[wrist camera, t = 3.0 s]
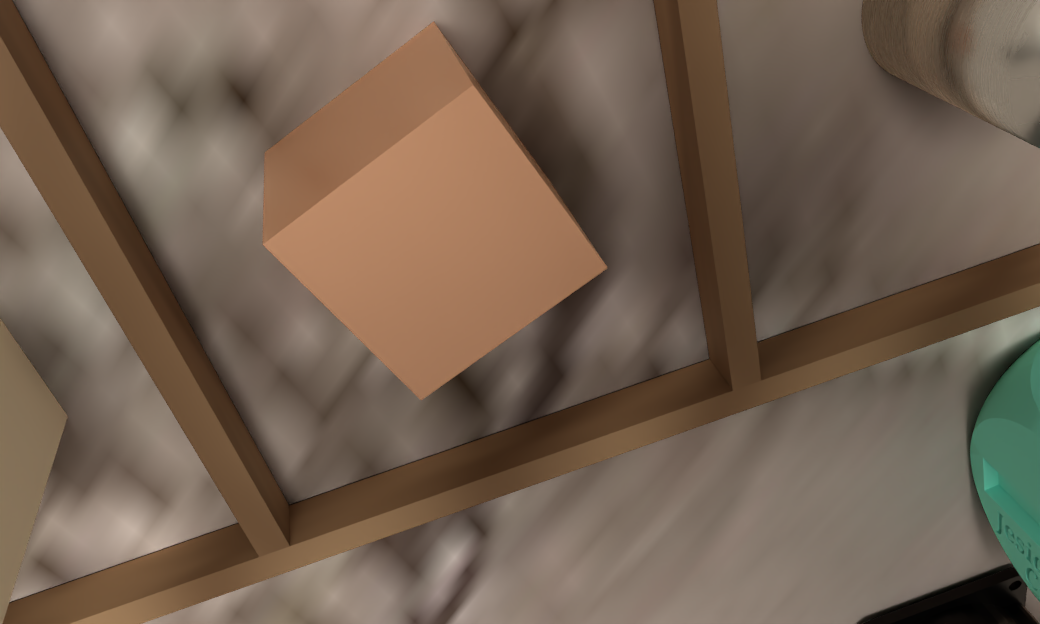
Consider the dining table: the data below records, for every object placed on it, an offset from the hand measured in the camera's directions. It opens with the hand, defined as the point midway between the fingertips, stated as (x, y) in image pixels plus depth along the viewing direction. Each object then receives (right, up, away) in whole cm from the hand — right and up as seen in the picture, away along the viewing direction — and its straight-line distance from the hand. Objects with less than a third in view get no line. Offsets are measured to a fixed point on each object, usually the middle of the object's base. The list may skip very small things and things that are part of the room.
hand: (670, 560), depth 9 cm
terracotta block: (-4, +6, +11) cm, 13 cm away
